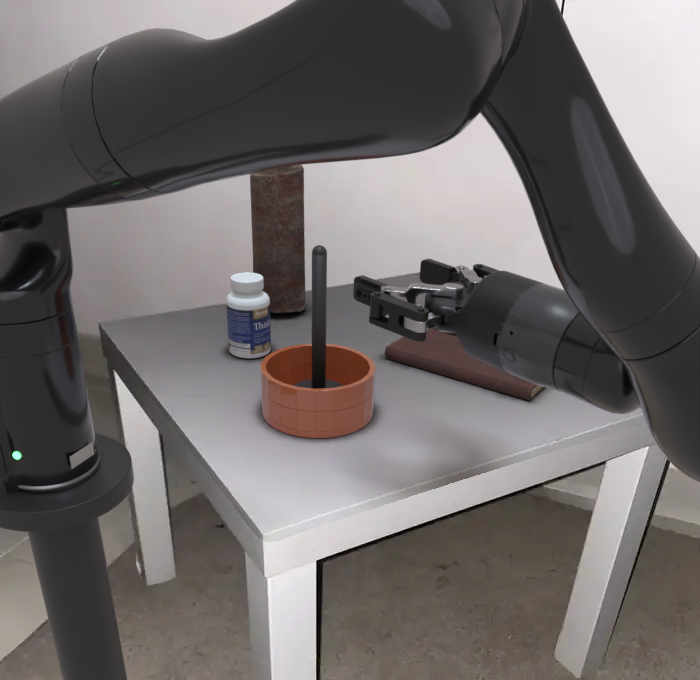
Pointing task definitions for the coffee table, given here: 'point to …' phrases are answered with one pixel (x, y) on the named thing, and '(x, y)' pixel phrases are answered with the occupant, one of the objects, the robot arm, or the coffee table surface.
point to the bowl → (317, 392)
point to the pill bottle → (248, 316)
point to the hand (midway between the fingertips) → (390, 277)
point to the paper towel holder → (319, 322)
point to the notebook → (457, 363)
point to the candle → (279, 235)
